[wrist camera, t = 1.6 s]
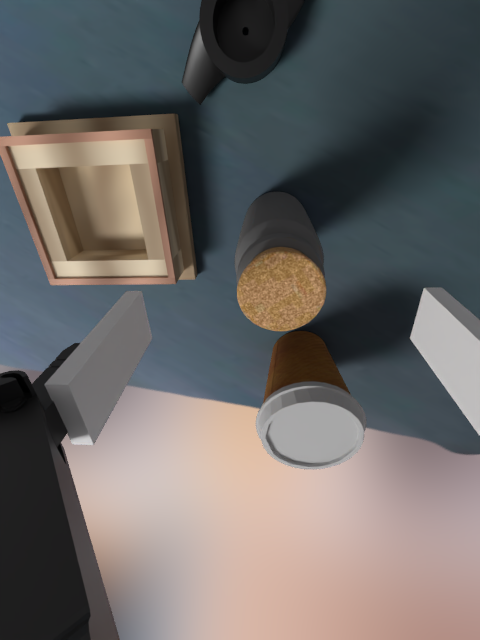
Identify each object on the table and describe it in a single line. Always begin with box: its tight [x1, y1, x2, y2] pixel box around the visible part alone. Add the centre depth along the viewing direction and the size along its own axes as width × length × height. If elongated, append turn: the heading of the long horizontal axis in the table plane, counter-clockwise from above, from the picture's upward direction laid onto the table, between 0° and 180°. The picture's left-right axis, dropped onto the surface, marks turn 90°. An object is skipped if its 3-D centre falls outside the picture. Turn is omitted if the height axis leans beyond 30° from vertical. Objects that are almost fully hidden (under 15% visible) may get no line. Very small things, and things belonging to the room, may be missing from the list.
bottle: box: [235, 192, 326, 331], centre depth 23 cm, size 6×6×15 cm
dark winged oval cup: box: [182, 0, 305, 105], centre depth 22 cm, size 8×10×3 cm
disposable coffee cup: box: [256, 331, 366, 469], centre depth 32 cm, size 10×10×12 cm
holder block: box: [0, 114, 197, 285], centre depth 28 cm, size 14×14×4 cm
